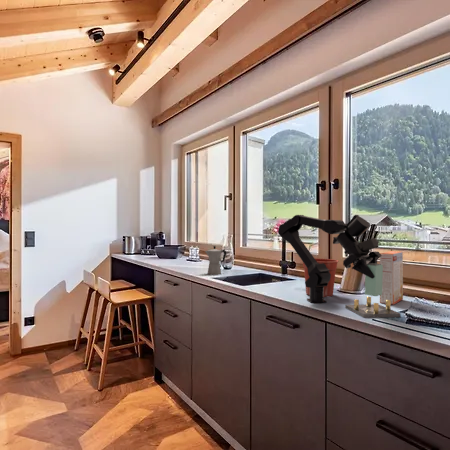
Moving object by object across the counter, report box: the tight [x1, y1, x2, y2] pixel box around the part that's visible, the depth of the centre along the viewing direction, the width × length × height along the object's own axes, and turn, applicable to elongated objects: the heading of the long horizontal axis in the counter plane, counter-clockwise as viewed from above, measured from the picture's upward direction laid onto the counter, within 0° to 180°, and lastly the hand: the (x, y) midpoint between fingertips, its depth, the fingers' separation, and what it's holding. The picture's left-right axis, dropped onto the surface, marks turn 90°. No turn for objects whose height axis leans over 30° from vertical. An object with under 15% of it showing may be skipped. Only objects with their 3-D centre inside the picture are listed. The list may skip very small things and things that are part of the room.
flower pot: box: [302, 257, 339, 298], centre depth 171 cm, size 16×16×16 cm
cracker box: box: [379, 250, 404, 305], centre depth 157 cm, size 14×6×21 cm, turn 140°
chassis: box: [344, 296, 401, 319], centre depth 137 cm, size 15×14×5 cm
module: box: [364, 263, 383, 297], centre depth 136 cm, size 4×5×11 cm
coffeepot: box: [205, 245, 228, 276], centre depth 241 cm, size 15×9×18 cm, turn 118°
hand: (377, 277), depth 135 cm, fingers closed on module, 5 cm apart
